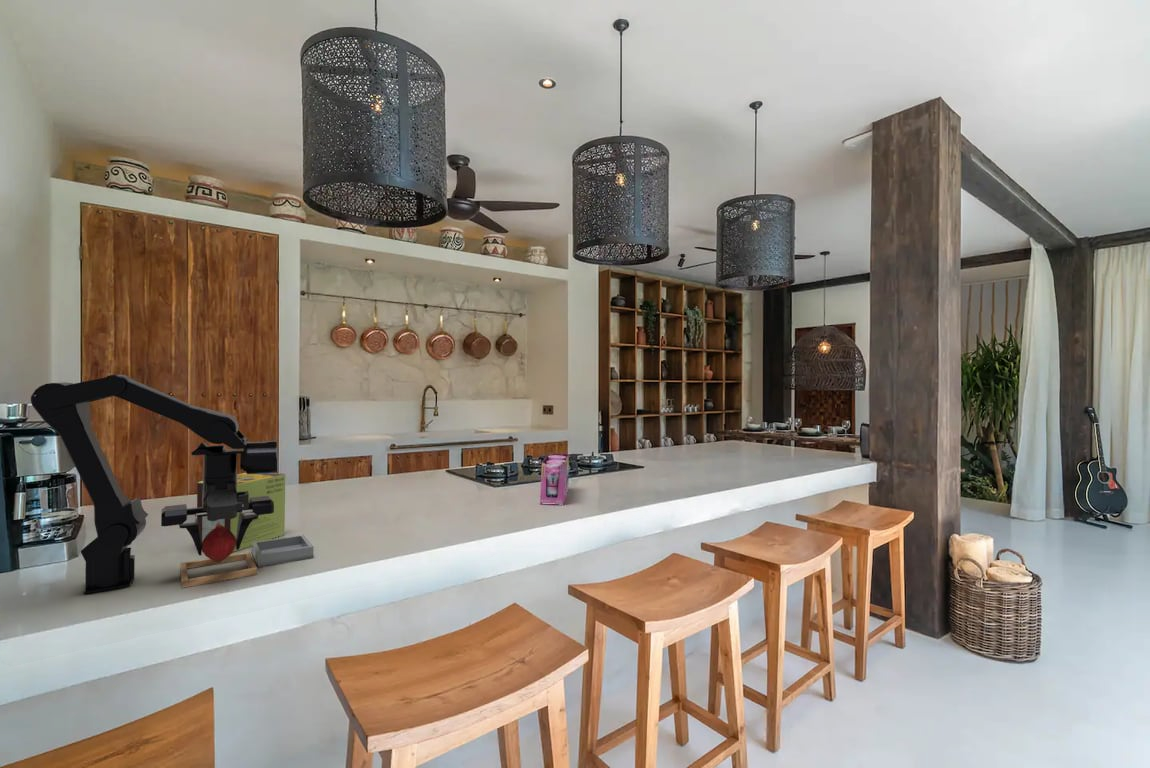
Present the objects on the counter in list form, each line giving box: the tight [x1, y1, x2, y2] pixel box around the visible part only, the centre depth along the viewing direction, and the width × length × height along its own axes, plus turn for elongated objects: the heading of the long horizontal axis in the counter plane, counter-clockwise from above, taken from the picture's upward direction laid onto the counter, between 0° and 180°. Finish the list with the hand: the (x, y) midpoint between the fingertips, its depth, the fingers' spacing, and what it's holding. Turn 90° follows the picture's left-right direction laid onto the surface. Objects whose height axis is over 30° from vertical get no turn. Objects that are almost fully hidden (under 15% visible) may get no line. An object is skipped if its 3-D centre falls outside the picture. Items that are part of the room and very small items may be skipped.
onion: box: [201, 523, 236, 563], centre depth 107 cm, size 6×6×8 cm
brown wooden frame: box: [180, 551, 258, 589], centre depth 107 cm, size 12×12×1 cm
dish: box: [251, 534, 314, 568], centre depth 117 cm, size 11×11×2 cm
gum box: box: [539, 453, 570, 505], centre depth 179 cm, size 24×8×14 cm, turn 177°
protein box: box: [196, 472, 286, 553], centre depth 127 cm, size 10×15×16 cm
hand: (219, 552), depth 107 cm, fingers closed on onion, 6 cm apart
